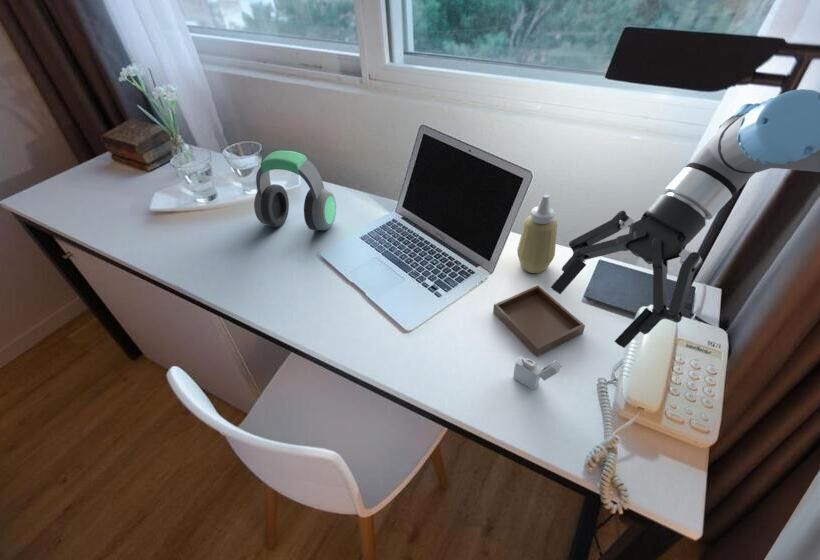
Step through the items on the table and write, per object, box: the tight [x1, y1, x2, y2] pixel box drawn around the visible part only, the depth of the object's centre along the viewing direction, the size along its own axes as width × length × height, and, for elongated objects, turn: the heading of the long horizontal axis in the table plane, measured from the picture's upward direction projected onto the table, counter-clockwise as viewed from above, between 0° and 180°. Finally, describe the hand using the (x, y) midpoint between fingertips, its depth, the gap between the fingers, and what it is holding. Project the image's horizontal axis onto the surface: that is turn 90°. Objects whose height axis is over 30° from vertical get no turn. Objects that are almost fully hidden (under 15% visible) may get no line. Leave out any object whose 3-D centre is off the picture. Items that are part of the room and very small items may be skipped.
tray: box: [492, 284, 586, 358], centre depth 84 cm, size 13×11×2 cm
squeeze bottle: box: [516, 194, 558, 274], centre depth 92 cm, size 8×8×18 cm
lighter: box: [512, 356, 563, 391], centre depth 71 cm, size 7×2×8 cm, turn 49°
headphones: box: [253, 150, 337, 232], centre depth 109 cm, size 19×11×20 cm, turn 77°
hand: (584, 316), depth 68 cm, fingers open, 13 cm apart
